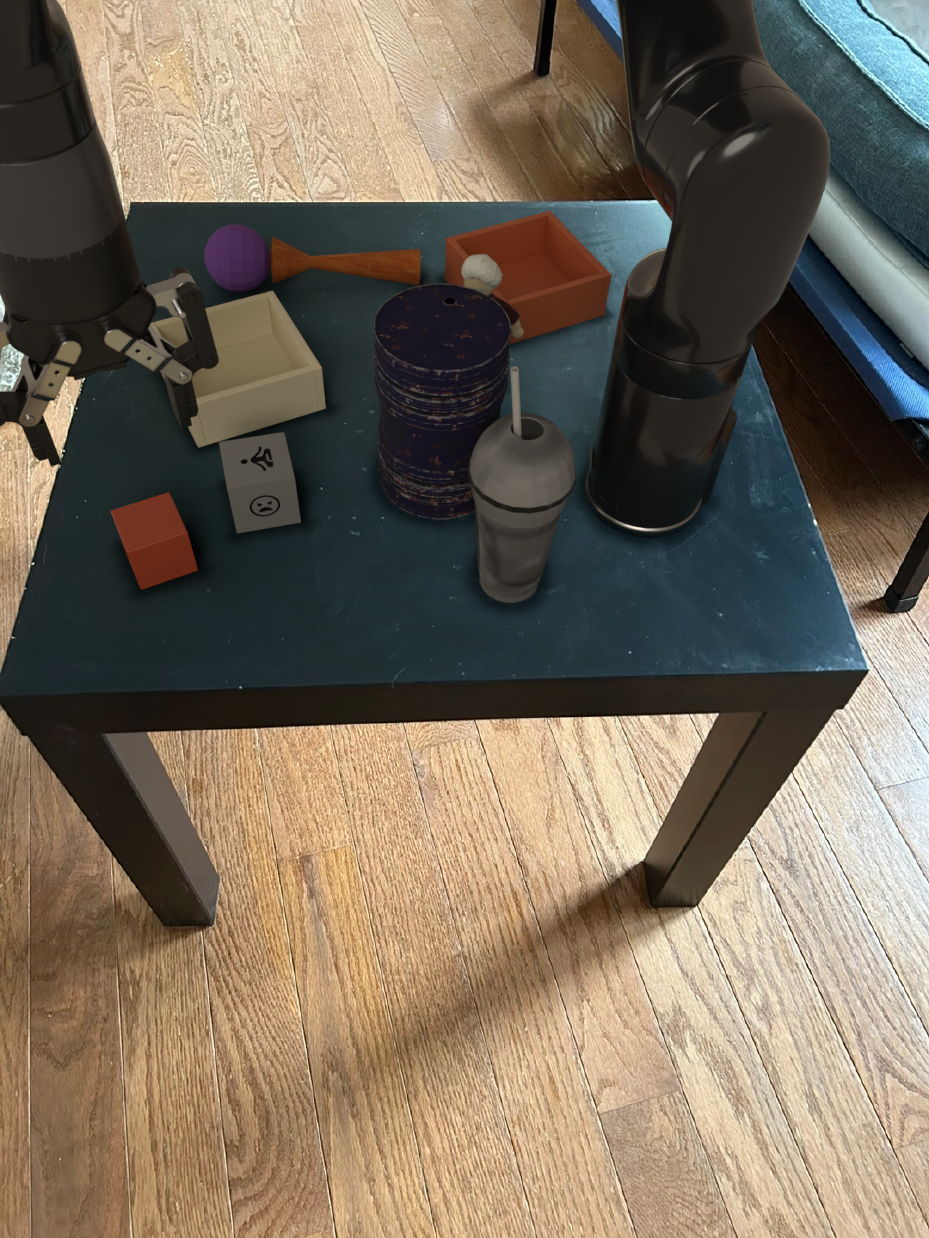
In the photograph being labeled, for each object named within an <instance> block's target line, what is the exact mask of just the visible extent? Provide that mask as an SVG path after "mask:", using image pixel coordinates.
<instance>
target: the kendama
mask: <svg viewBox="0 0 929 1238" xmlns="http://www.w3.org/2000/svg"><path fill="white" fill-rule="evenodd" d="M203 255H204V256H203V258H204V265H205V267H206V270H207V272H208V274H209V276H210V278H211V279H212V280H213V281H214V282H215V283H216V284H217V285H218V286H219V287H220V288H223V289H225V290H227V291H229V292H231V293H243V294H244V293H248V292H250V291H252V290H255V289H258V288H259V287H260V286H261V285H262V284H263V282H264V281H266V279H267V277H268V274H269V272H270V273H271V279H272V284H273V285H275V284H278V283H280V282H282V281H285V280H286V279H289V278H291V277H295V276H297V275H298V274H301V273H303V272H305V271H308V270H310V269H312V270H319V271H323V272H324V271H326V272H330V273H331V272H332V273H337V274H342V275H349V276H356V277H362V278H367V279H374V280H381V281H387V282H391V283H399V284H406V285H411V286H420V280H421V250H420V248H413V249H397V250H396V249H395V250H383V251H367V252H351V253H339V254H338V253H337V254H323V255H322V254H321V255H310V254H307V253H306V252H304V251H301V250H300V249H298V248H296V247H294V246H292V245H290V244H288V243H286V242H285V241H283V240H280V239H279V238H277V237H275V236H272V237H271V244H270V250H269V248H268V245H267V243H266V240H265V239H264V238H263V237H262V236H261V235H260V234H259V233H258V232H257V231H256V230H255V229H253V228H251V227H248V226H247V225H244V224H233V223H230V224H227V225H225V226H224V225H223V226H222V227H219V228H218V229H216V230H215V231H214V232H213V233H212V234H211V236H210V237H209V238H208V240H207V242H206V245H205V248H204V254H203Z"/></svg>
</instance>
